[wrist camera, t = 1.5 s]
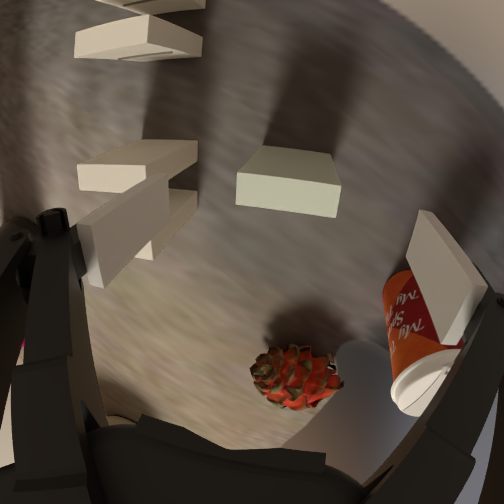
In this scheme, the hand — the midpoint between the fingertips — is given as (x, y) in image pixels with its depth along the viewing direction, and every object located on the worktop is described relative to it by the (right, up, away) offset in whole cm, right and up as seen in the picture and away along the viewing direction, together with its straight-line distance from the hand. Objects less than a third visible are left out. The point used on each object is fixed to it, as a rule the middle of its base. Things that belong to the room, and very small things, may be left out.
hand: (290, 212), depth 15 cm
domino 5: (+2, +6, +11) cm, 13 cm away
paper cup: (+15, -6, +15) cm, 22 cm away
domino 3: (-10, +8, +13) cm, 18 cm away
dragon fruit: (+4, -15, +23) cm, 28 cm away
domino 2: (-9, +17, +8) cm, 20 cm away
